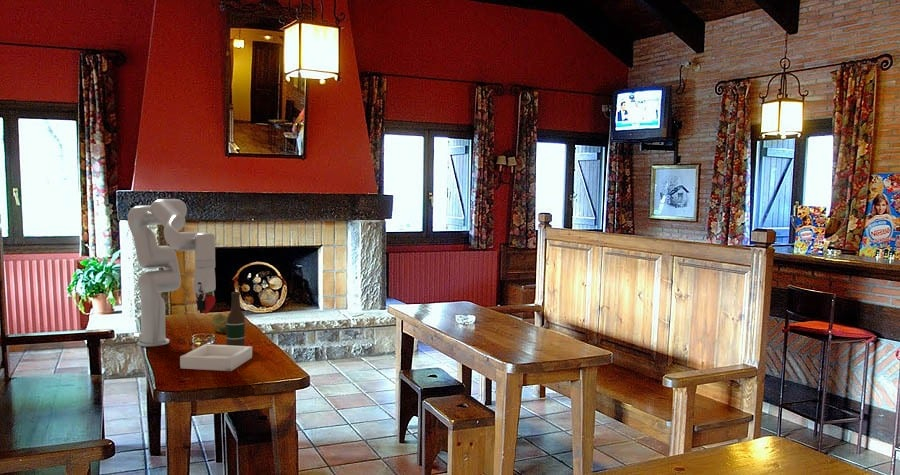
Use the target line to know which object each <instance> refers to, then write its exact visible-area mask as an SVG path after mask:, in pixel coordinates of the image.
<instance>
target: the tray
mask: <svg viewBox="0 0 900 475" xmlns="http://www.w3.org/2000/svg"><path fill="white" fill-rule="evenodd" d="M252 358H253V346H249V345H248V346H246V345H245V346H231V345H226V344H208V343H207V344H206V343H205V344H202V345H201V346H199V347H196V348H195V349H192V350H191V351H189V352H187V353H185V354H182V355H180V357H179V366H180V369H187V370H205V371H221V372H222V371H223V372H224V371H225V372H232V371H234V370H235V369H237V368H238V367H240V366H241V365H243V364H245V363H246V362H248V361H249V360H250V359H252Z"/></svg>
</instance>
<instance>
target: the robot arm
mask: <svg viewBox="0 0 900 475" xmlns="http://www.w3.org/2000/svg"><path fill="white" fill-rule="evenodd" d="M187 207H188V206H187V205H186V203H185V202H184V201H182V200H181V199H177V198H162V199H161V198H159V199H156V200H154V201H153V202H151V204H149V205H137V206H134V207H132V208H131V209H130V210H129V211H128V215H127V223H128V224H127V225H128V227H129V230H130V233H131V235H132V237H133V241H134V246H135V251H136V256H137V262H138V265H139V266H140V267H141V268H143V269H159V268H162V270H149V271H145V272H143V273H142V274H140V275H139V277H138V280H137V285H138V290H139V295H140V317H141V318H140V322H141V324H140V328H141V329H140V330H141V332H140V333H139V332H137V333H135V332H134V333H133V337H132V338H133V339H138V341H137V346H139V347H144V348H145V347H146V348H147V347H151V348H152V347H159V346H165V345H168V344H169V343H170V339H169V338H167V337H166V302H165V298H163V297H162V296H161V294H160V293H165V292H166V293H167V292H174V291H177V290H178V289H179V288H180V287H181V285H182V277H181V271H180V266H179V264H180V263H179V260H178V255H177V252H176V251H178V252H188V251H194V276H193V293H194V295H195V299H196V298H197V304H196V310H197V311H201V312H202V311H205V310H206V300H205V295H206V293H212V296H214V297H215V292H216V288H217V287H216V284H217V282H216V280H217V279H216V269H215V268H216V236H215V235H214V233H212V232H203V231H182V232H181V230H182V229H183V228H184V226H185V225H186V216H187V213H188V208H187ZM161 225H162V226H163V227H164V228H163V237H164V239H165V242H166V244H168V245H158V243H157V238H156V235H155V233H154V232H153V231H152V230H151V229H150V228H149V227H148V226H161ZM202 295H203V296H202ZM214 307H215V305H214V306H213V307H212V308H214Z"/></svg>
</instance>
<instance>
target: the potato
mask: <svg viewBox="0 0 900 475" xmlns="http://www.w3.org/2000/svg"><path fill="white" fill-rule="evenodd" d="M227 317H228V316H227V315H226V314H223V313H216V314H215V315H213V317H212V320H211V323H212V324H211V325H212V327H213V328H214V329H215V331H216V332H217V333H220V334H226V322H227Z"/></svg>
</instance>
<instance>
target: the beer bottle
mask: <svg viewBox="0 0 900 475" xmlns="http://www.w3.org/2000/svg"><path fill="white" fill-rule="evenodd" d="M230 296H231V303H230V306H231V308H230V312H229V313H228V314H227V316H226V317H227V322H226V333H225V334H226V335H225V336H226V337H225V338H226V339H225V340H226V341H225V342H226V344H225V345H231V346H246V345H245V344H246V319H245V315H244V313H243V311H242V308H241V300H240V296H241V292H240V291H233V292H231V295H230Z"/></svg>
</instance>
